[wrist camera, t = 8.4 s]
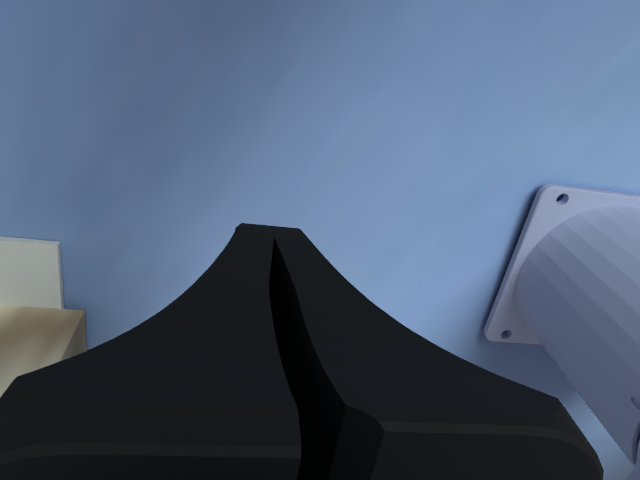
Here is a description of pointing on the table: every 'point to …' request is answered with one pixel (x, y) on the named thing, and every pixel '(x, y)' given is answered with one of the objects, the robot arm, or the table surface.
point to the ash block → (37, 339)
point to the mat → (30, 273)
